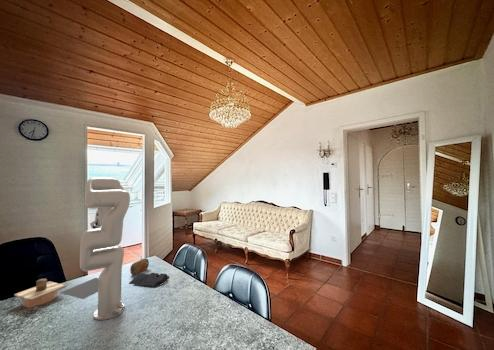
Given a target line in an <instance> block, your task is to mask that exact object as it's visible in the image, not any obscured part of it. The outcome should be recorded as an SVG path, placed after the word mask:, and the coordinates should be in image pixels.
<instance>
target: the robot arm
mask: <svg viewBox="0 0 494 350" xmlns="http://www.w3.org/2000/svg"><path fill="white" fill-rule="evenodd" d="M84 187H85V188H84V203H85V206H86V208H88V209H92V210H94V209H96V212H95V217H94V220H93V221H91V222H90V224H89V225H90V227H91V229H87V230H86V229H85V231H84V232H83V233H82V235H81V238H80V243H79V244H80V246H79V249H80V250H79V268H80V270H81V271H82V272H91V271H96V270H101V269H103V270H102V271H101V272H100V274H99V276H98V278H99V279H98V292H97V309H96V310H95V311H94V312H93V315H92V316H93V319H95V320H96V321H104V320H109V319H113V318H114V317H117V316H119V315H120V314H122V313H123V311H124V310H125V309H126V306H125V304H124V303H123V301H122V269H123V261H124V255H125V250H124V248H123V246H121V245H120V244H121V242H122V240H123V229H124V219H125V217H126V214H127V212H128V210H129V206H130V203H131V195H130V193H129V191H127V190H124V187H123V185H121V182H120V181H119V179H116V178H114V177H91V178H89V179H88V180H87V181H86V184H85V186H84Z"/></svg>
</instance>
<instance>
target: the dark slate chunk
mask: <svg viewBox="0 0 494 350" xmlns="http://www.w3.org/2000/svg"><path fill="white" fill-rule="evenodd" d="M169 278H170V275H168V274H167V273H160V274H159V272H151V273H144V272H142V273H140V274H138V275H135V276H134V278H133V279H131V281H129V283H128V285H132V286H133V287H140V288H151V289H156V288H159V287H160V286H161V285H160V284H162V283H163V284H165V283H166V282H167V281H168V280H169ZM167 279H168V280H167ZM166 280H167V281H166ZM165 281H166V282H165ZM164 282H165V283H164ZM163 284H162V285H163ZM159 285H160V286H159Z"/></svg>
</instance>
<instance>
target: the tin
mask: <svg viewBox="0 0 494 350" xmlns="http://www.w3.org/2000/svg"><path fill="white" fill-rule="evenodd" d="M149 265H150V262H149V259H148V258H142V259H141V258H140V259H139V260H137V261H135V262H133V263H132V264H131V266H130V269H129V271H130V274H131V275H133V276H137V275H138V274H141V272H142V273H144V272H145V271H147V269H148V268H149ZM144 270H145V271H144Z"/></svg>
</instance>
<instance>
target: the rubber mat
mask: <svg viewBox="0 0 494 350" xmlns="http://www.w3.org/2000/svg"><path fill="white" fill-rule="evenodd" d="M98 279H99V277H94V278H91V279H89V280H87V281H85V282H81V283H80V284H77V285H74V286H72V287H70V288H67V289H64V290H63V291H60V292H59V293H60V294H63V295H66V296H67V295H68V296H70V297H75V298H77V299H82V300H83V299H84V300H85V299H86V298H89V297H91V296H92V295H94V294H98Z"/></svg>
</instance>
